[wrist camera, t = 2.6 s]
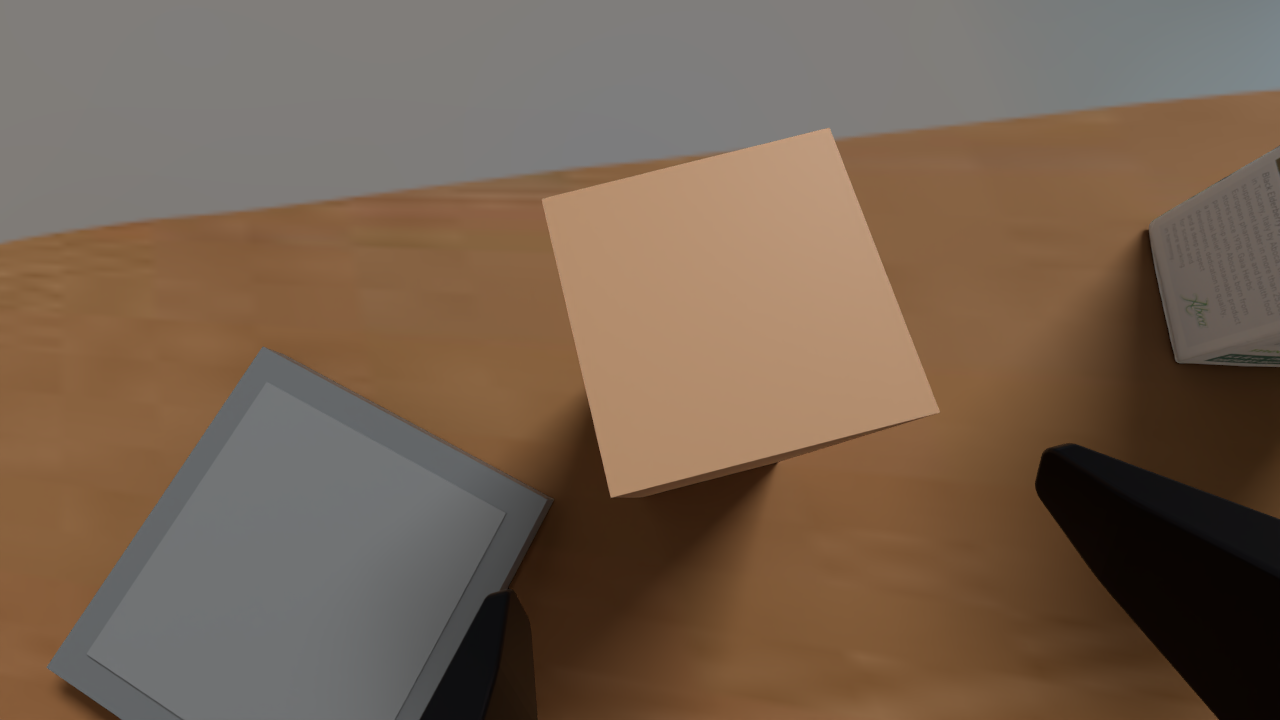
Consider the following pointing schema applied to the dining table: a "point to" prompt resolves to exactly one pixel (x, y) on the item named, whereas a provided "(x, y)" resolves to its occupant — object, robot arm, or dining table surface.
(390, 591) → the plate
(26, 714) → the dining table surface
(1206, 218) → the syrup box
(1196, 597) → the robot arm
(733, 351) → the block
